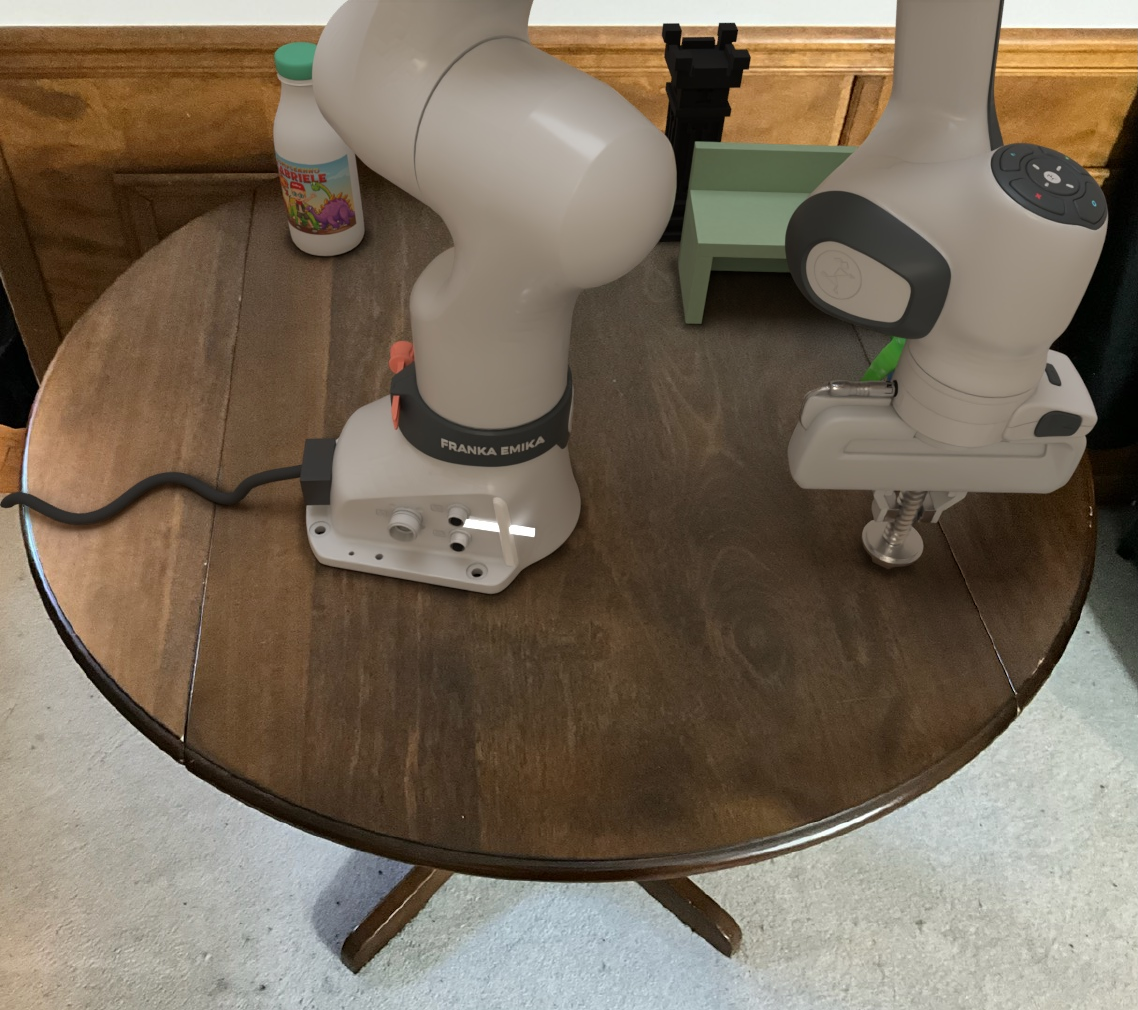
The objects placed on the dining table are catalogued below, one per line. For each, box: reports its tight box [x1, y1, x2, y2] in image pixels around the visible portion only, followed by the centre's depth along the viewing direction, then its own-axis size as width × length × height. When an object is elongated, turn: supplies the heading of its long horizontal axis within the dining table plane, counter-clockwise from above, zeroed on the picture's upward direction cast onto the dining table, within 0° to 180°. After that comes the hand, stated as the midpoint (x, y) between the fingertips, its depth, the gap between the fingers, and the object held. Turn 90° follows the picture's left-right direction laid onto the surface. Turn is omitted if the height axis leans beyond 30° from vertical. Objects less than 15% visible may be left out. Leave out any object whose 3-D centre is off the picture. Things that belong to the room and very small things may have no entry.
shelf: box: [677, 141, 860, 325], centre depth 102 cm, size 22×10×14 cm, turn 91°
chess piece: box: [658, 22, 752, 243], centre depth 107 cm, size 8×8×20 cm
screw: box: [860, 491, 929, 570], centre depth 80 cm, size 13×5×5 cm
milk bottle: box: [272, 41, 365, 257], centre depth 103 cm, size 8×8×20 cm
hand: (902, 516), depth 81 cm, fingers closed on screw, 2 cm apart
